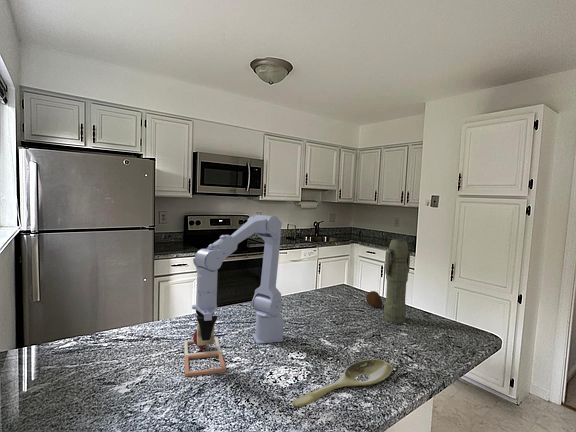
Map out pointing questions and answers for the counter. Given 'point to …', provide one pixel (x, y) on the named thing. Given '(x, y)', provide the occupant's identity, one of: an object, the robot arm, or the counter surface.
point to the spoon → (351, 379)
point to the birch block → (199, 338)
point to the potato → (374, 299)
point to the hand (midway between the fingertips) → (205, 336)
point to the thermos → (396, 280)
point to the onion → (196, 340)
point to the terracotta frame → (208, 371)
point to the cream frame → (200, 352)
